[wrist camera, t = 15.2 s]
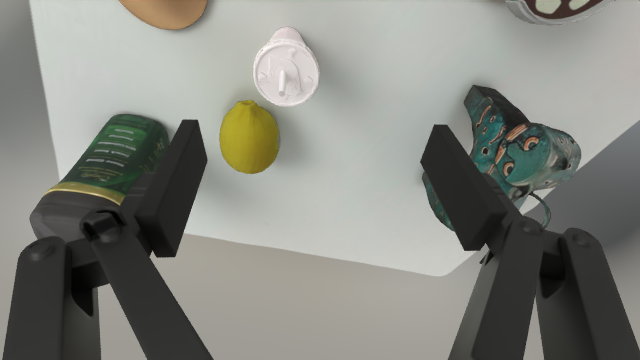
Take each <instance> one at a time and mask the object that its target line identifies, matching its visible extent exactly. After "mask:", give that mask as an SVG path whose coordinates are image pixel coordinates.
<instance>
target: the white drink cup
mask: <svg viewBox="0 0 640 360" xmlns="http://www.w3.org/2000/svg"><path fill="white" fill-rule="evenodd" d="M319 72H320V69H319V65H318V61H317V59H316V57H315V55H314V53H313V52H312V51H311V50H310V49H309V48H308V47H307V46H306V45H305V43H304V41H303V39H302V38H301V36H300V34H299V33H298V32H297V31H296V30H295V29H293V28H290V27H283V28H280V29H278V30H277V31H276V32H275V33H274V35H273V36H272V38H271V39H270V41H269V43H268V44H267V45H265V46H264V47H263V48H262V49H261V50H260V51H259V52H258V54H257V56H256V58H255V61H254V67H253V78H254V83H255V85H256V88H257V90H258V91H259V93H260V94H261V95H262V96H263V97H264V98H265V99H266V100H268V101H269V102H271V103H273V104H275V105H278V106H282V107H293V106H297V105H300V104H302V103H304V102H306V101H307V100H309V99H310V98H311V97H312V96H313V94H314V93H315V91H316V89H317V87H318V84H319V76H320V75H319Z"/></svg>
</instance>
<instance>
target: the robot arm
mask: <svg viewBox="0 0 640 360" xmlns="http://www.w3.org/2000/svg"><path fill="white" fill-rule="evenodd" d="M207 161H208V160H207V155H206V151H205V147H204V143H203V139H202V135H201V131H200V127H199V123H198V120H182V122H181V124H180V126H179V128H178V130H177V132H176V134H175V136H174V138H173V139H172V141H171V143H170V145H169V147H168V149H167V151H166V153H165V155H164V157H163V159H162V161H161V163H160V165H159V167H158V169H157V171H156V172H143V173H142V174H141V175H140V176H138V177H137V178H136V179H135V180H134V182H133V183H132V185H131V187H130V190H128V192H127V194H126V197H124V199H123V201H122V202H121V204H120V206H119V208H117V207H113V206H103V207H100V208H97V209H94V210H92V211H90V212H89V213H87V214H86V215H85V216H84V217H83V218H82V219H81V221H80V223H79V230H80V231H81V232H82V233H83V235H84V236H85V237H86V238H82V239H78V240H74V241H70V242H65V241H64V240H63V239H62V238H60V237H58V236H49V237H44V238H41V239H39V240H37V241H34V242H33V243H31V244H30V245H28V246H27V247H26V248H25V249H24V250H23V251H22V252H21V254H20V256H19V258H18V263H17V270H16V276H15V282H14V289H13V295H12V301H11V308H10V314H9V321H8V327H7V334H6V340H5V346H4V352H3V359H2V360H101V348H100V328H99V309H98V289H97V287H99V286H103V285H106V284H109V283H110V285H111V287H112V288H113V291H114V293H115V295H116V297H117V299H118V300H119V303H120V305H121V307H122V309H123V311H124V313H125V315H126V317H127V319H128V321H129V323H130V325H131V327H132V329H133V331H134V333H135V335H136V337H137V339H138V341H139V343H140V346H141V348H142V350H143V352H144V354H145V356H146V357H147V360H213V358H212V356H211V355H210V353H209V352H208V350H207V348H206V347H205V346H204V344H203V342H202V340H201V339H200V337H199V336H198V334H197V333H196V331H195V329H194V328H193V326H192V325H191V323H190V321H189V320H188V318H187V316H186V315H185V313H184V312H183V310H182V309H181V307H180V305H179V304H178V302H177V301H176V299H175V297H174V296H173V294H172V293H171V291H170V290H169V288H168V286H167V285H166V283H165V281H164V280H163V278H162V277H161V275H160V274H159V272H158V270H157V269H156V267H155V266H154V264H153V262H152V261H151V259H150V258H149V257H150V255H151V252H152V250H153V252H154V254H155V256H156V257H157V258H158V257H175V256H176V253H177V250H178V247H179V244H180V241H181V238H182V235H183V232H184V229H185V226H186V223H187V220H188V217H189V214H190V212H191V209H192V206H193V203H194V200H195V197H196V194H197V191H198V188H199V185H200V182H201V179H202V176H203V173H204V170H205V167H206V164H207ZM420 162H421V164H422V166H423V168H424V170H425V172H426V174H427V176H428V178H429V180H430V182H431V184H432V186H433V189H434V191H435V193H436V195H437V197H438V199H439V201H440V203H441V205H442V207H443V209H444V211H445V213H446V215H447V217H448V219H449V221H450V223H451V225H452V227H453V229H454V231H455V233H456V235H457V237H458V239H459V241H460V243H461V245H462V247H463V249H464V251H480V250H481V248H482V247H483V246H484V244H485V243H486V244H487V245H488V247H489V249H490V250H489V251H488V252H487V254H486V255H485V256H484V258H483V259H482V260H481V261H480V264H482V263H483V265H482V267H481V270H480V273H479V276H478V278H477V281H476V284H475V286H474V289H473V292H472V295H471V297H470V300H469V303H468V306H467V308H466V311H465V314H464V317H463V319H462V322H461V325H460V328H459V331H458V333H457V336H456V339H455V341H454V344H453V347H452V350H451V353H450V355H449V358H448V360H523V356H524V351H525V346H526V341H527V336H528V330H529V325H530V320H531V314H532V309H533V304H534V298H535V296H536V303H537V311H538V318H539V325H540V332H541V339H542V346H543V354H544V360H640V350H639V347H638V345H637V342H636V339H635V336H634V334H633V331H632V328H631V325H630V323H629V320H628V317H627V315H626V312H625V309H624V306H623V304H622V301H621V298H620V295H619V293H618V290H617V287H616V284H615V282H614V279H613V276H612V274H611V271H610V268H609V265H608V263H607V260H606V257H605V255H604V252H603V249H602V246H601V244H600V243H599V241H598V240H597V239H595V237H594V236H592V235H591V234H589V233H588V232H586V231H584V230H581V229H578V228H569V229H567V230H566V231H565V232H564V233H563V234H559V233H555V232H551V231H547V230H545V229H544V228H543V226H542V225H541V224H540V223H538V222H537V221H535V220H534V219H532V218H529V217H526V216H522V214H521V213H520V212H519V210H518V209H517V208H516V206H515V205H514V204H513V202H512V201H511V200H510V198H509V197H508V196H507V195H506V193H505V192H504V190H503V189H501V186H500V185H499V183H498V182H497V181H496V179H494V178H493V177H492V176H490V175H489V174H488V173H481V172H480V171H479V169H478V168H477V167H476V165H475V164H474V162H473V161H472V159H471V158H470V157H469V155H468V154H467V152H466V151H465V150H464V148H463V147H462V145H461V144H460V142H459V141H458V140H457V138H456V137H455V135H454V134H453V132H452V131H451V130H450V128H449V127H448V125H434V127H433V129H432V132H431V135H430V137H429V140H428V143H427V145H426V148H425V151H424V153H423V156H422V159H421V161H420Z"/></svg>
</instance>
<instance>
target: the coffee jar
mask: <svg viewBox="0 0 640 360" xmlns="http://www.w3.org/2000/svg"><path fill="white" fill-rule="evenodd" d="M168 147H169V141H168V136H167V133H166V131H165V129H164V128H163V127H162V126H161V125H160V124H158V123H157V122H155V121H152V120H150V119H148V118H144V117H141V116H136V115H130V114H119V115H115V116H113V117H112V118H111V119H110V120H109V121H108V122H107V123H106V125H105V126H104V127H103V128H102V130H101V131H100V132H99V134H98V135H97V136H96V138H95V139H94V140H93V142H92V143H91V145H90V146H89V147H88V149H87V150H86V151H85V152H84V154H83V155H82V156H81V158H80V159H79V160H78V161H77V163H76V164H75V165H74V166H73V168H72V169H71V170H70V171H69V173H68V174H67V175H66V176H65V177H64V178H63V179H62V180H61V181H60V182H59V183H58V184H57V185H55V186H54V187H52V188H51V189H49V190H48V191H47V192H46V193H45V194H44V196H43V197H42V199H41V200H40V202H39V203H38V205H37V206H36V208H35V209H34V210H33V212H32V213H31V215H30V223H31V226H32V228H33V230H34V233H35V235H36V237H37V239H38V240H39V239H41V238H44V237H49V236H58V237H60V238H62V239H63V240H64V241H65V242H70V241H74V240H78V239H82V238H86V237H85V236H84V235H83V233H82V232H81V231H80V230H79V223H80V221H81V219H82V218H83V217H84V216H85V215H86V214H87V213H89V212H90V211H92V210H94V209H97V208H100V207H103V206H113V207H117V208H119V206H120V204H121V202H122V201H123V199H124V197H126V194H127V192H128V190H130V187H131V185H132V183H133V182H134V180H135V179H136V178H137V177H138V176H140V175H141V174H142V173H143V172H156V171H157V169H158V167H159V165H160V163H161V161H162V159H163V157H164V155H165V153H166V151H167V149H168Z"/></svg>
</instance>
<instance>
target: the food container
mask: <svg viewBox="0 0 640 360" xmlns="http://www.w3.org/2000/svg"><path fill="white" fill-rule="evenodd" d="M614 1H615V0H509V1H508V0H506V1H505V3H506V5H507V6H508V8H509V10H510V11H511V12H512V13H513V14H514V15H515V16H516V17H518V18H519V19H521V20H522V21H525V22H528V23H532V24H541V25H561V24H565V23H570V22H574V21H578V20H581V19H584V18H586V17H589V16H591V15H593V14H595V13H597V12H599V11H600V10H602V9H604V8H605V7H607V6H608V5H610V4H611V3H613V2H614Z"/></svg>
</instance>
